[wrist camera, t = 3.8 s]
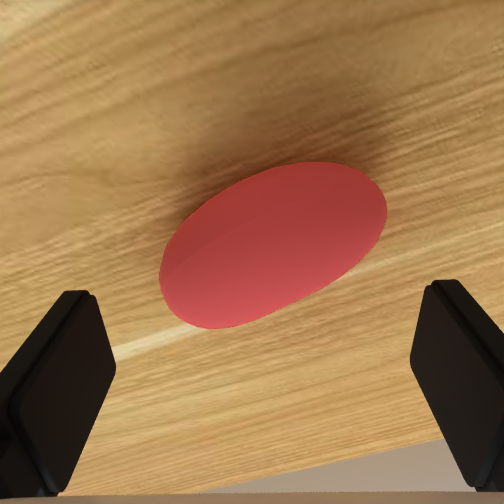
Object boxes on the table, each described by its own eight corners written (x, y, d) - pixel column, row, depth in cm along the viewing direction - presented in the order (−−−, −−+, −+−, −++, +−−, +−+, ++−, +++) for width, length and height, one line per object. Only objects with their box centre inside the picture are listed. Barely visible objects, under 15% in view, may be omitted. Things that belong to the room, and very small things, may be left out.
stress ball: (156, 161, 16) (93, 288, 13) (365, 101, 12) (350, 270, 9) (217, 232, 20) (181, 345, 17) (395, 206, 15) (394, 353, 12)
